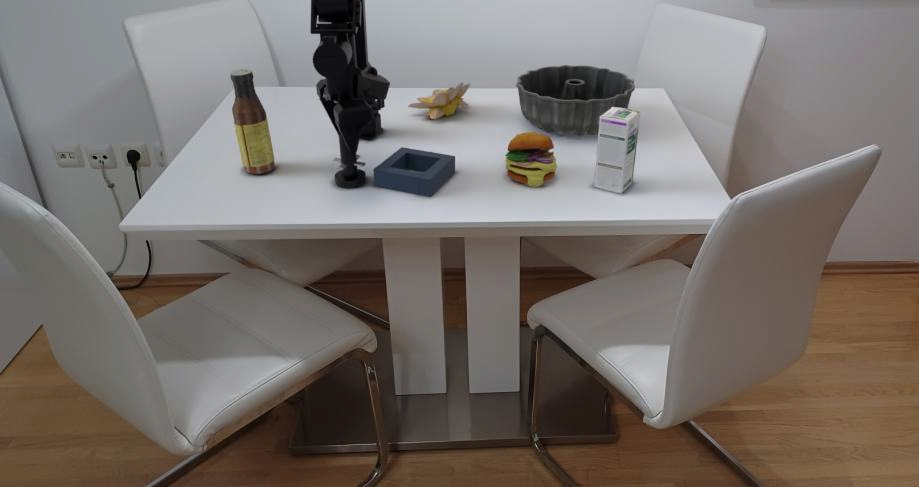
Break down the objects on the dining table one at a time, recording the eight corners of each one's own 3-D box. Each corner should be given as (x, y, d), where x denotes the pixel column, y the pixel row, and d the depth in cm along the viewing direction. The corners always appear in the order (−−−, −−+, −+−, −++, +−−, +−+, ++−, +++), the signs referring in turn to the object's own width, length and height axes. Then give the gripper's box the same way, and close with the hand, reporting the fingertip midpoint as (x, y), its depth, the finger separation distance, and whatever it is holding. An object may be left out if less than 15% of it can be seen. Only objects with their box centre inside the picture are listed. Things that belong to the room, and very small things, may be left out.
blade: (326, 185, 137) (321, 136, 132) (344, 172, 142) (340, 124, 137) (357, 191, 135) (352, 141, 130) (374, 177, 140) (370, 129, 135)
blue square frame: (374, 186, 137) (373, 169, 135) (402, 162, 146) (401, 146, 145) (430, 196, 133) (429, 179, 131) (455, 172, 142) (455, 155, 141)
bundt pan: (499, 135, 159) (500, 92, 154) (532, 99, 180) (534, 59, 175) (618, 152, 151) (624, 106, 146) (638, 111, 172) (643, 70, 167)
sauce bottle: (281, 165, 145) (268, 68, 135) (264, 177, 140) (249, 78, 130) (253, 161, 147) (238, 65, 137) (236, 173, 142) (218, 74, 132)
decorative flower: (447, 91, 180) (451, 55, 173) (479, 112, 174) (484, 75, 168) (402, 110, 171) (404, 73, 164) (434, 132, 166) (438, 95, 159)
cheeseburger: (508, 189, 135) (507, 136, 132) (501, 178, 145) (500, 129, 142) (561, 186, 136) (561, 133, 133) (550, 176, 146) (550, 126, 143)
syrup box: (621, 194, 134) (631, 120, 126) (592, 187, 136) (599, 114, 129) (632, 183, 138) (642, 110, 130) (603, 176, 140) (611, 105, 133)
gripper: (399, 70, 122) (403, 155, 130) (369, 44, 137) (374, 121, 145) (335, 78, 118) (343, 165, 126) (311, 50, 133) (320, 129, 141)
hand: (347, 144), depth 135 cm, fingers open, 9 cm apart
